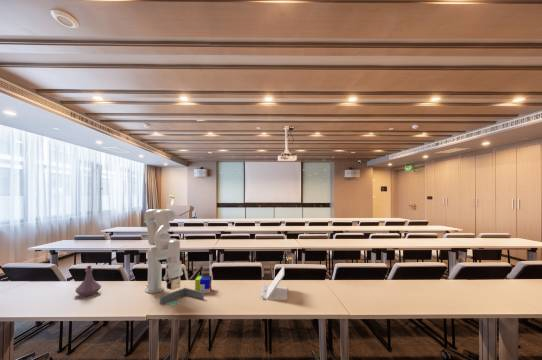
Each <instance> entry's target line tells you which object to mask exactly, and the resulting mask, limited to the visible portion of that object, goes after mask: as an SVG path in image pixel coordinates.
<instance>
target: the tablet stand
mask: <svg viewBox="0 0 542 360" xmlns="http://www.w3.org/2000/svg"><path fill="white" fill-rule="evenodd" d="M284 277H285V266H284V265H282V268H281V269H280V270H279V272H278V273H277V274H276V276H275V278H274V279H273V280H272V282H271V283H270V285H269V286H268V285H267V284H265V283H264V284H263V285H262V289H261V294H260V297H261V298H262V299H264V300H266V301H288V287H287V286H279V284H280V283H281V281H282V280H283V278H284Z"/></svg>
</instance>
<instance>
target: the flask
mask: <svg viewBox="0 0 542 360" xmlns="http://www.w3.org/2000/svg"><path fill="white" fill-rule="evenodd" d="M84 271H85V277H84V280H82V282H81V283H80V284H79V285H78V286H77V287H76V289H75V293H76V294H78V295H79V296H80V297H83V298H84V297H85V298H86V297H91V296H94V295H96V294H98V292H99V291H100V289H101V288H102V285H101V284H100V283H98V282H97V281H96V280H95V279H94V276H93V271H94V269H93V268H92V265H87V267H86V269H85V270H84Z"/></svg>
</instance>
